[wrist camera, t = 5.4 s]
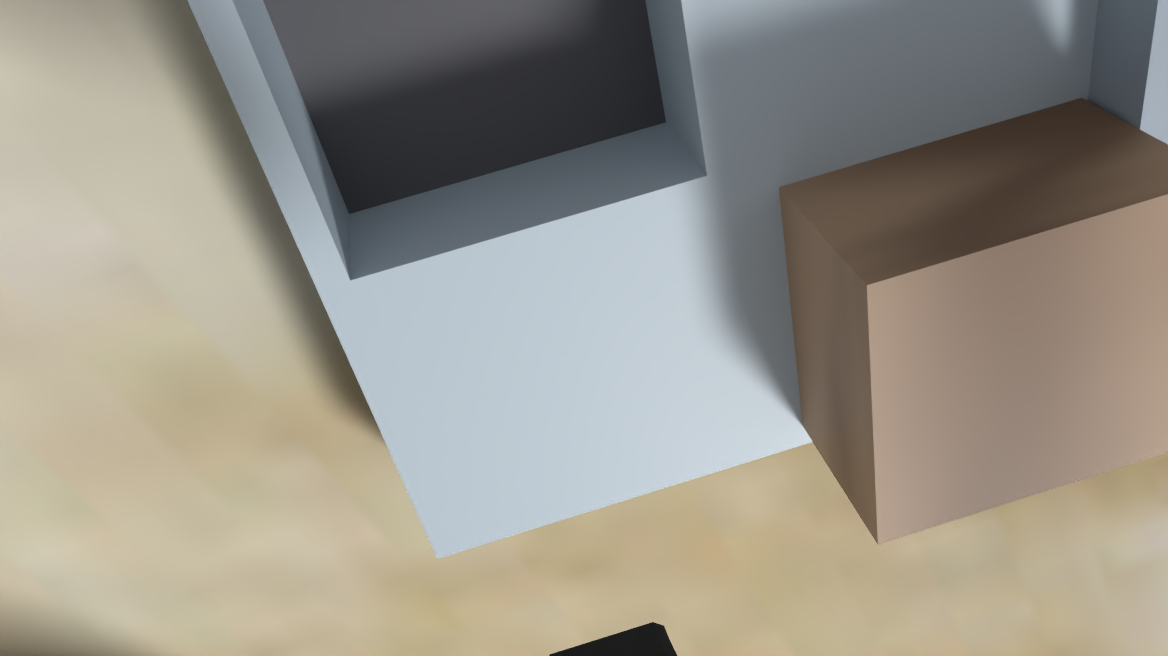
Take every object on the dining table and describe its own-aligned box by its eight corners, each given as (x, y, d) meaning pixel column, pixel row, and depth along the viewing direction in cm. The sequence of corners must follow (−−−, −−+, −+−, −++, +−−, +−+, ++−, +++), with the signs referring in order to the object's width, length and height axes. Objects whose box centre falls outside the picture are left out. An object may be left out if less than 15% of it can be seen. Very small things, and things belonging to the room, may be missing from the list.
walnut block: (1081, 97, 15) (1225, 176, 13) (1056, 347, 18) (1170, 451, 15) (779, 187, 15) (867, 285, 12) (802, 426, 18) (878, 544, 15)
